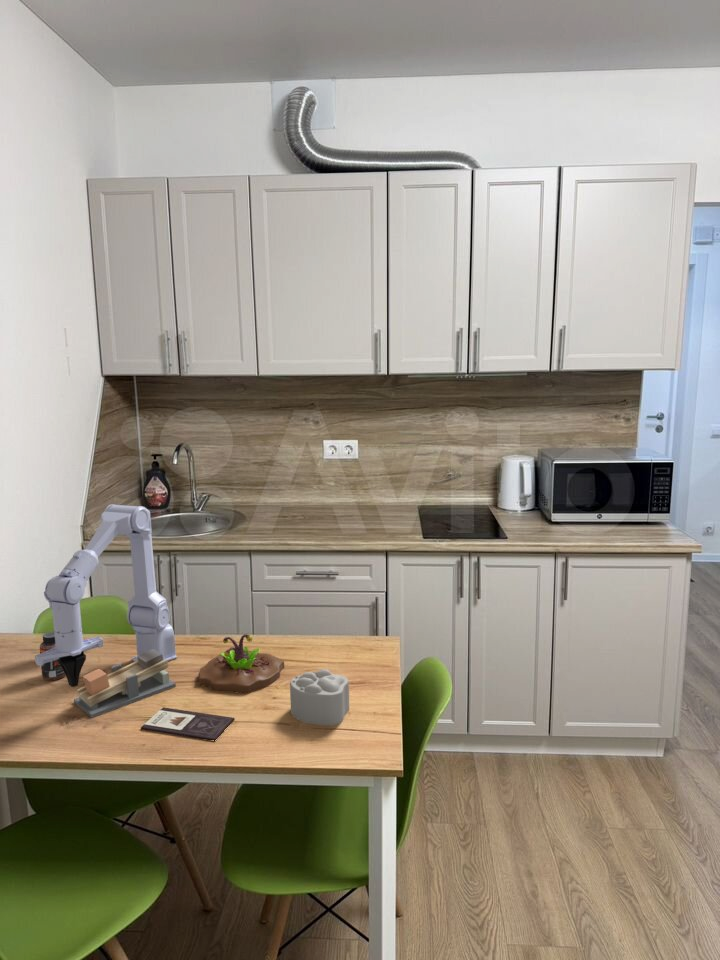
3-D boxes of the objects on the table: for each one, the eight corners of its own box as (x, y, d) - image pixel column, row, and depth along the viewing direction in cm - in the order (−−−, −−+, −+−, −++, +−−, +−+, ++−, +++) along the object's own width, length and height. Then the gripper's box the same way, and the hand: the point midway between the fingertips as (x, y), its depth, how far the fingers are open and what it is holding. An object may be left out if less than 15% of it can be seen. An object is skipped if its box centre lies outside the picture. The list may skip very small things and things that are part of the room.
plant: (255, 700, 167) (253, 656, 165) (186, 686, 174) (183, 643, 172) (294, 665, 185) (293, 624, 183) (230, 653, 192) (228, 614, 190)
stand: (156, 673, 181) (154, 651, 180) (175, 686, 174) (174, 663, 173) (74, 702, 167) (71, 678, 166) (91, 717, 160) (89, 693, 158)
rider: (102, 683, 168) (99, 668, 167) (110, 688, 165) (106, 673, 164) (86, 691, 165) (82, 676, 164) (94, 697, 162) (90, 681, 161)
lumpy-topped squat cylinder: (339, 727, 154) (338, 690, 152) (283, 720, 158) (281, 683, 156) (352, 704, 164) (352, 669, 162) (299, 697, 167) (298, 663, 166)
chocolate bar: (215, 739, 149) (140, 727, 154) (215, 743, 149) (141, 731, 154) (234, 717, 158) (163, 707, 163) (234, 721, 158) (163, 711, 163)
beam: (156, 663, 179) (153, 646, 177) (169, 671, 174) (165, 654, 173) (80, 701, 166) (75, 683, 164) (91, 711, 161) (86, 692, 160)
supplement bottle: (58, 682, 177) (54, 639, 175) (37, 680, 178) (32, 638, 176) (72, 671, 182) (68, 630, 180) (52, 670, 184) (47, 628, 182)
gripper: (41, 643, 151) (47, 702, 153) (107, 624, 160) (111, 680, 163) (29, 633, 156) (35, 691, 158) (94, 616, 165) (98, 670, 168)
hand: (73, 685), depth 161 cm, fingers closed
